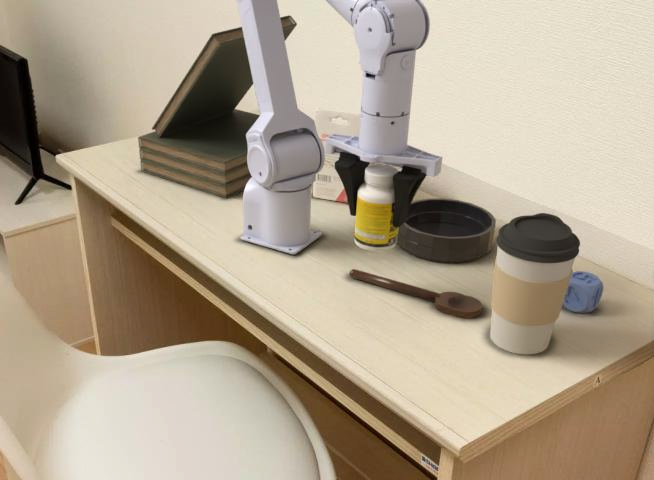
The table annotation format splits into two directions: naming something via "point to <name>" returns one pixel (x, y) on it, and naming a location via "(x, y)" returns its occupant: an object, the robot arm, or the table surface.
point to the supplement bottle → (376, 210)
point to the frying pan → (447, 230)
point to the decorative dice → (583, 292)
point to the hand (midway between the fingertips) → (377, 218)
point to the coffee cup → (530, 281)
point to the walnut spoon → (428, 295)
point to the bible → (207, 120)
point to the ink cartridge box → (328, 178)
